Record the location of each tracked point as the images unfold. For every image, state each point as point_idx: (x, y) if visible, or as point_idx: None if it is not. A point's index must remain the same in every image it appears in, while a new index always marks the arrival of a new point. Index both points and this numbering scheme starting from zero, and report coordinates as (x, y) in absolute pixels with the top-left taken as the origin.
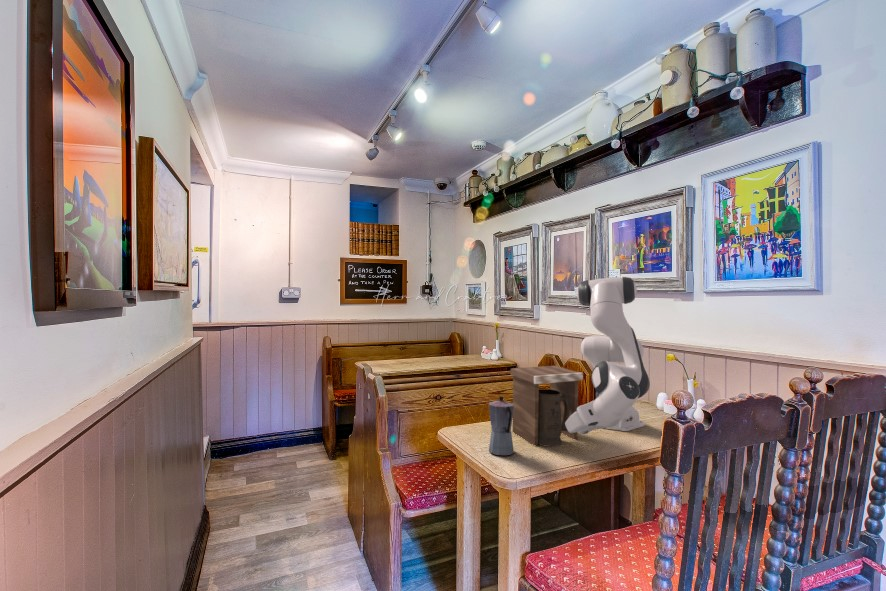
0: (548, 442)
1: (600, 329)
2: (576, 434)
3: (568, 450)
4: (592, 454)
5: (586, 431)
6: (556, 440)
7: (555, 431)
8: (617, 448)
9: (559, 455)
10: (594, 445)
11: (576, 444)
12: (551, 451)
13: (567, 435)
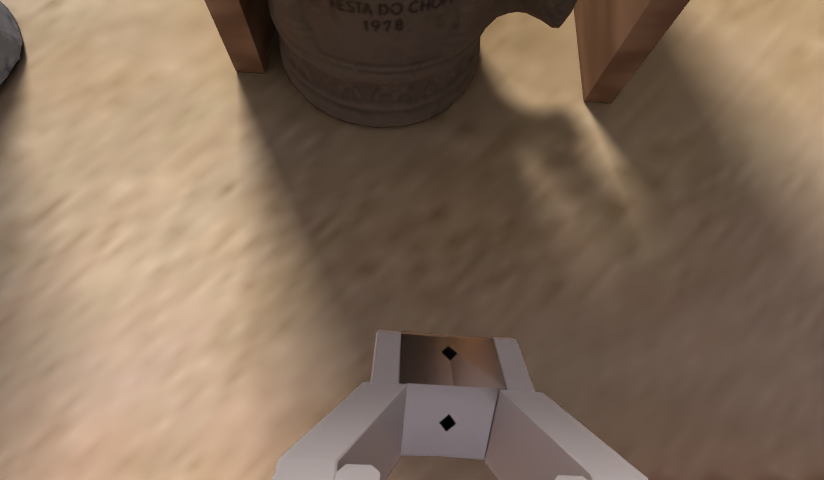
0: (319, 93)
1: None
2: (622, 75)
3: (405, 227)
4: (532, 370)
5: (449, 450)
6: (387, 99)
7: (377, 39)
8: (819, 355)
9: (262, 275)
10: (668, 232)
11: (545, 165)
12: (268, 190)
13: (580, 35)
